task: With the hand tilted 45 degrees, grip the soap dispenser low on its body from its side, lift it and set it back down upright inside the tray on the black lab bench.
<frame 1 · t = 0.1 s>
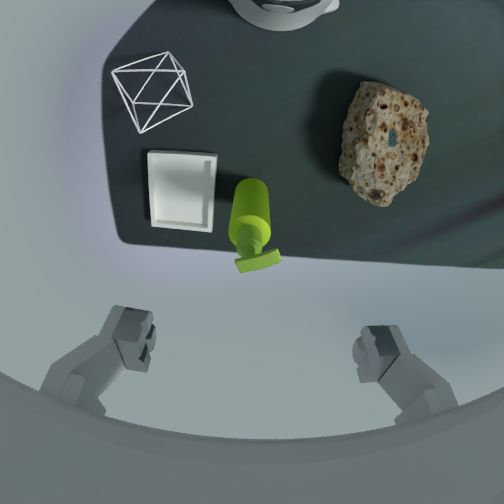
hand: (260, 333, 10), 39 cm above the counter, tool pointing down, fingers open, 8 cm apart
soap dispenser: (254, 191, 49), on the counter
rock: (377, 139, 41), on the counter
geometric polyhedron: (164, 86, 37), on the counter
tray: (182, 189, 48), on the counter
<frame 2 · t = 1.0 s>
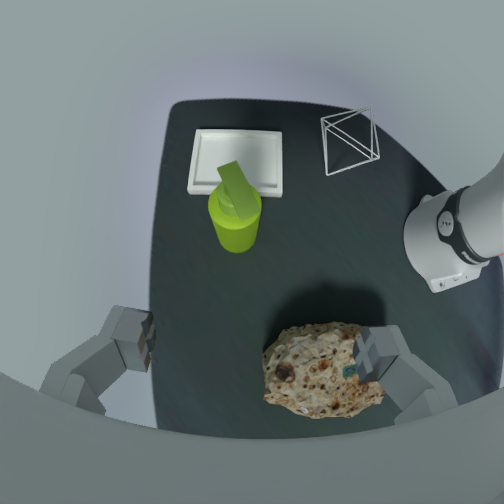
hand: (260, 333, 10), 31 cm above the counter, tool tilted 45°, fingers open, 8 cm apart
soap dispenser: (238, 237, 43), on the counter
rock: (324, 366, 39), on the counter
geometric polyhedron: (341, 154, 47), on the counter
tray: (236, 163, 45), on the counter
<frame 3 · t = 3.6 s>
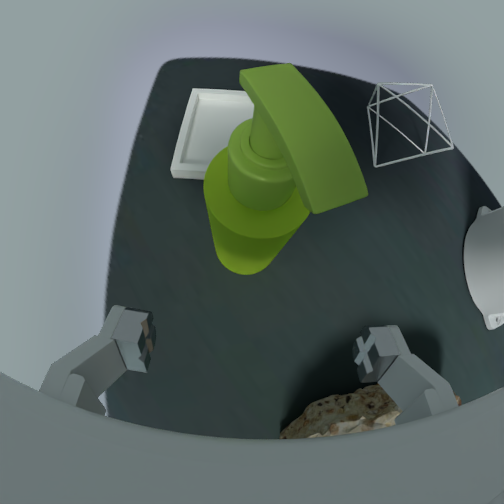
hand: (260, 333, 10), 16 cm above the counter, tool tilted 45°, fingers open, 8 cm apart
soap dispenser: (247, 249, 27), on the counter
rock: (362, 437, 23), on the counter
geometric polyhedron: (389, 142, 32), on the counter
tray: (248, 137, 29), on the counter
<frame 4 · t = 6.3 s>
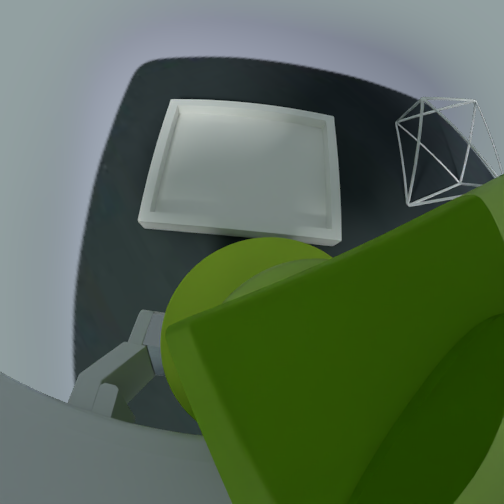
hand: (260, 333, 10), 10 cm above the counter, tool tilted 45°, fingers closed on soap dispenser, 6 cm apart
soap dispenser: (244, 331, 20), on the counter, touching gripper
geometric polyhedron: (422, 169, 25), on the counter
tray: (245, 168, 22), on the counter
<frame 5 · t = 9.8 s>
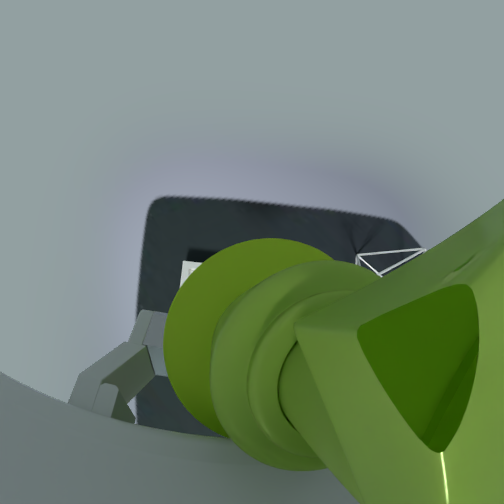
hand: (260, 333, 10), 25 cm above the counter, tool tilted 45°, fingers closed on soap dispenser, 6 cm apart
soap dispenser: (238, 331, 20), point 15 cm above the counter, touching gripper
geometric polyhedron: (371, 294, 37), on the counter
when the fingers open (12 cm above the counter, at t = 13.7 s): soap dispenser drops 1 cm, resting on tray.
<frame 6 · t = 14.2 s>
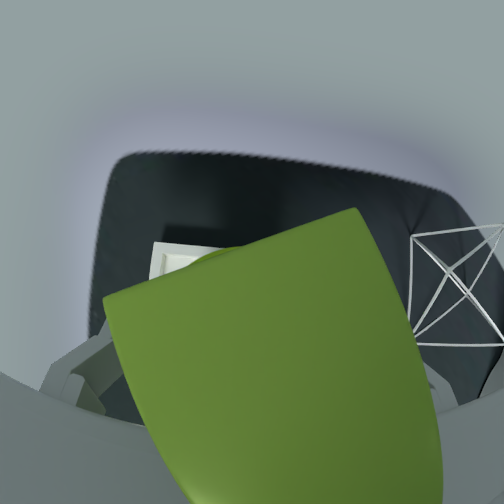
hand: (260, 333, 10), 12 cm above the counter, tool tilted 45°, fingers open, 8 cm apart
soap dispenser: (238, 328, 21), resting on tray
geometric polyhedron: (430, 291, 24), on the counter
tray: (242, 329, 21), on the counter
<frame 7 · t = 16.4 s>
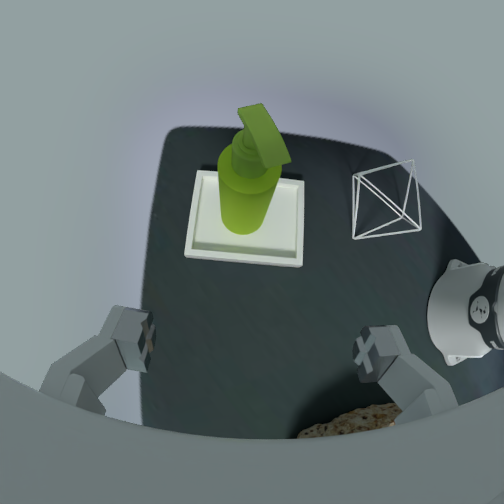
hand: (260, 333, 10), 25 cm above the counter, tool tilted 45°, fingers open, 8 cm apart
soap dispenser: (244, 218, 37), resting on tray
rock: (345, 447, 32), on the counter
geometric polyhedron: (369, 210, 40), on the counter
tray: (246, 219, 37), on the counter
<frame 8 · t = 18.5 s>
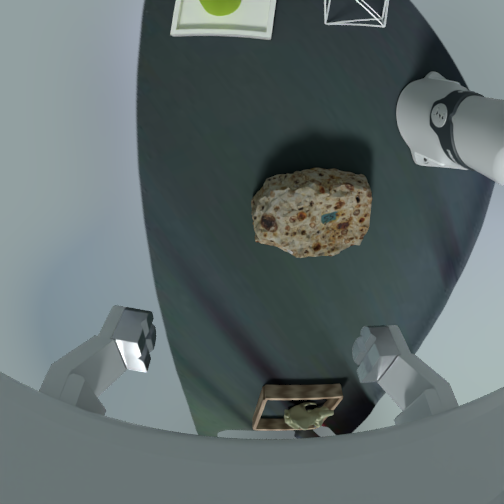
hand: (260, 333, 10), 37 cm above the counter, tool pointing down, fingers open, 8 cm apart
soap dispenser: (222, 4, 28), resting on tray
rock: (309, 205, 47), on the counter
specimen frame: (293, 404, 87), on the counter
pelvis bone: (304, 404, 88), resting in specimen frame
geometric polyhedron: (347, 5, 27), on the counter
tray: (225, 4, 28), on the counter
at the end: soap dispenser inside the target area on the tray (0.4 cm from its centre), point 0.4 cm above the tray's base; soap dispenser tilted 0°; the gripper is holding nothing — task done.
